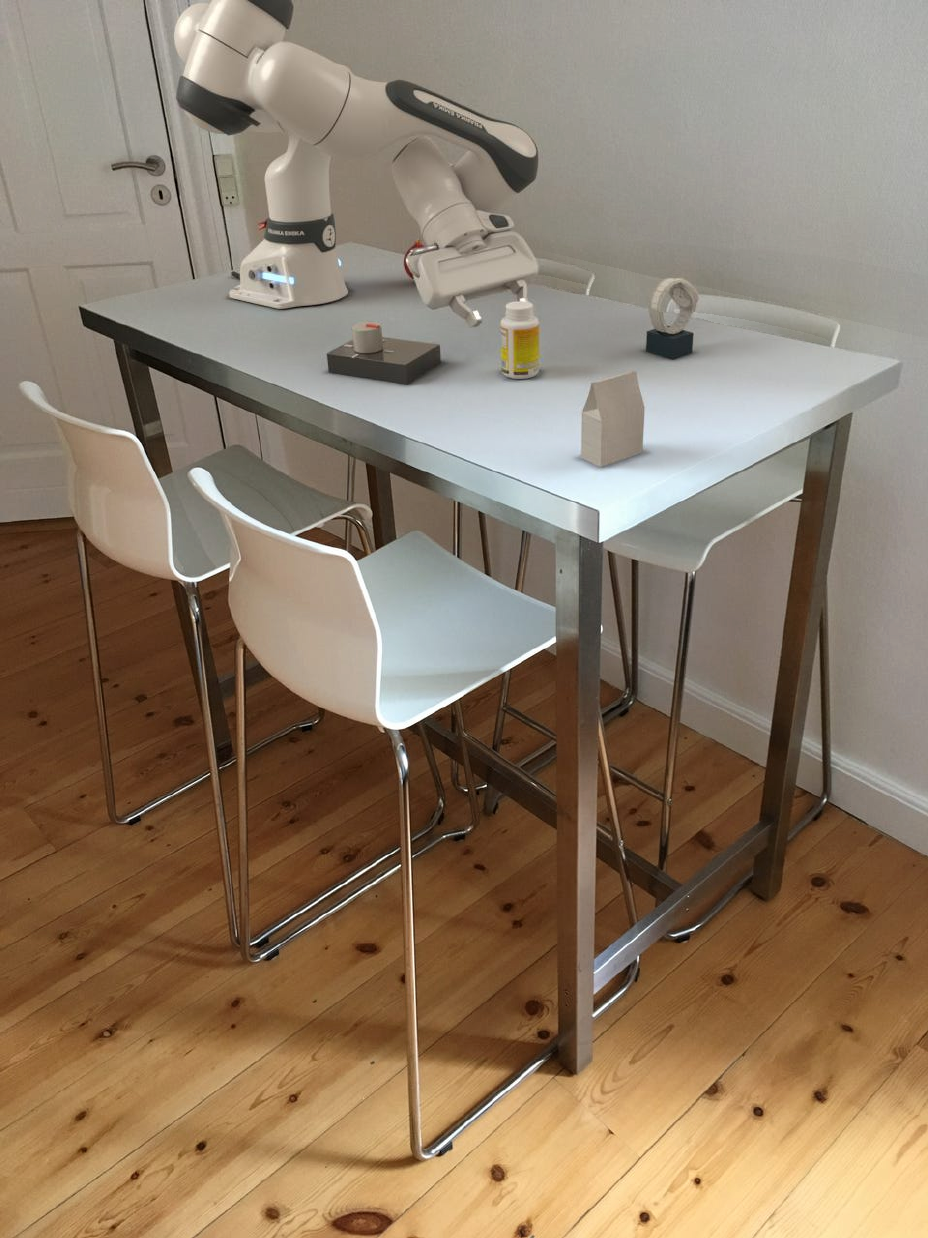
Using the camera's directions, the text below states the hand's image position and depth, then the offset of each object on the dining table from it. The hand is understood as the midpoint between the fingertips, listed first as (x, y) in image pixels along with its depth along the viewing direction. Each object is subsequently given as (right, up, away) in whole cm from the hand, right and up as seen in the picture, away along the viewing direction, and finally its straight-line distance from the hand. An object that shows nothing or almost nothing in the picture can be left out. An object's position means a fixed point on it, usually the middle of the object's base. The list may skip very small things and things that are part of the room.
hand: (501, 317), depth 160 cm
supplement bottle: (+3, -8, +1) cm, 9 cm away
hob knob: (-20, -4, +4) cm, 21 cm away
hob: (-18, -6, +5) cm, 19 cm away
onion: (-14, +19, +46) cm, 52 cm away
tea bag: (+13, -24, -26) cm, 38 cm away
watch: (+26, -4, +6) cm, 27 cm away
